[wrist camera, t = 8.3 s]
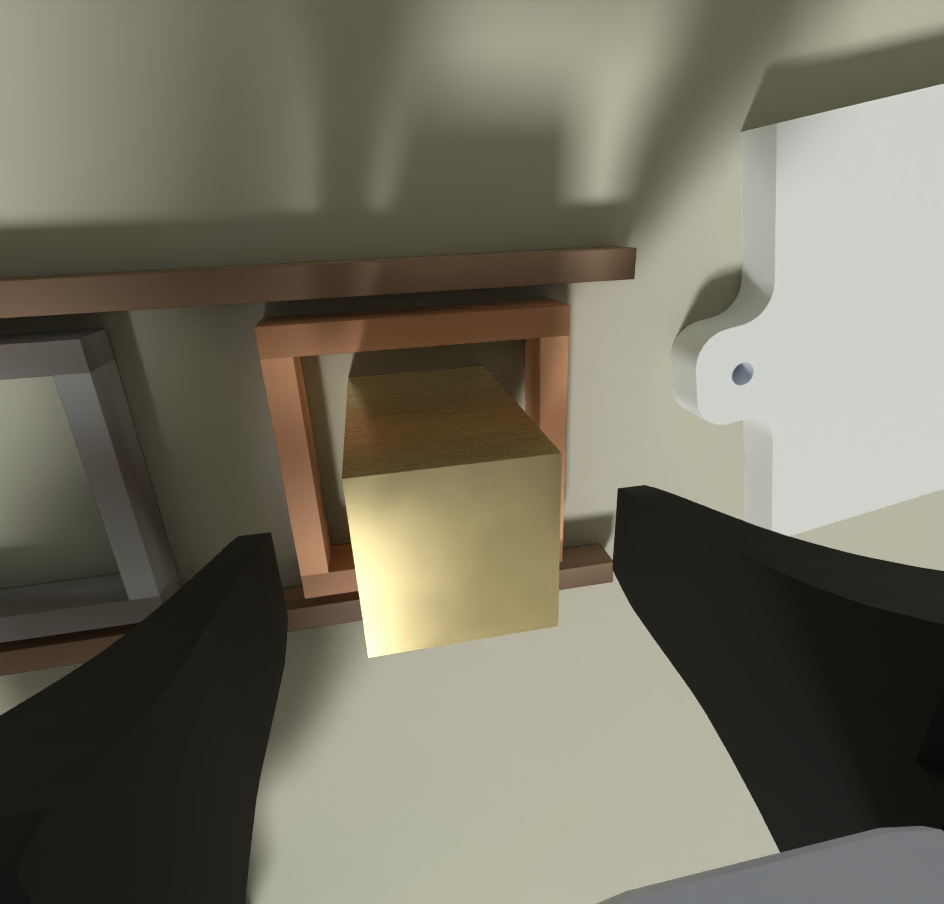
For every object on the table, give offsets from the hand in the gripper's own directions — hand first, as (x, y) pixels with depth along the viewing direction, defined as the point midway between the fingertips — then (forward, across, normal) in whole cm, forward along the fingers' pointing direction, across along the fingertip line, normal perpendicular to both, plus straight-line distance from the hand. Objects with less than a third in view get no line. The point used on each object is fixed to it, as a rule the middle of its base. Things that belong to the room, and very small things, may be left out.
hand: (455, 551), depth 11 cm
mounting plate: (+7, -17, -3) cm, 19 cm away
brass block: (+6, 0, 0) cm, 6 cm away
